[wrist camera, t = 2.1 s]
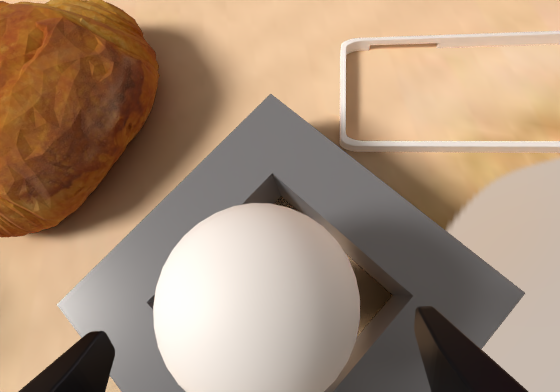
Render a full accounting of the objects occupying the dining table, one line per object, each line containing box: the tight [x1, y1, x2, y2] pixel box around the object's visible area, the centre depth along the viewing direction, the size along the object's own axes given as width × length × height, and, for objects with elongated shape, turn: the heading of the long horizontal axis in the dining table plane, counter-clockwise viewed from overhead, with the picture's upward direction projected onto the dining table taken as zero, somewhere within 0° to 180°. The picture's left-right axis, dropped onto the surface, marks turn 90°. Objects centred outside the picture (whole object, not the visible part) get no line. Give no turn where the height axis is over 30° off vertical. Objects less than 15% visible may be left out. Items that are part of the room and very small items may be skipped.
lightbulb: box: [153, 203, 360, 392], centre depth 13 cm, size 6×6×11 cm
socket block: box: [57, 94, 525, 392], centre depth 16 cm, size 14×14×4 cm
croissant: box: [0, 0, 159, 237], centre depth 20 cm, size 14×16×8 cm
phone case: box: [340, 31, 560, 153], centre depth 20 cm, size 7×1×15 cm
